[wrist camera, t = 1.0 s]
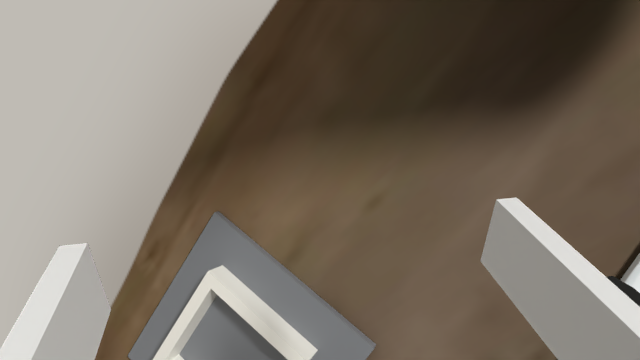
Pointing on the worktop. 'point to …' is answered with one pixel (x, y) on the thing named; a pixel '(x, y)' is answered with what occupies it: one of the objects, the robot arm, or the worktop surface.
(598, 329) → the robot arm
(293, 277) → the dock
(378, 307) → the worktop surface
